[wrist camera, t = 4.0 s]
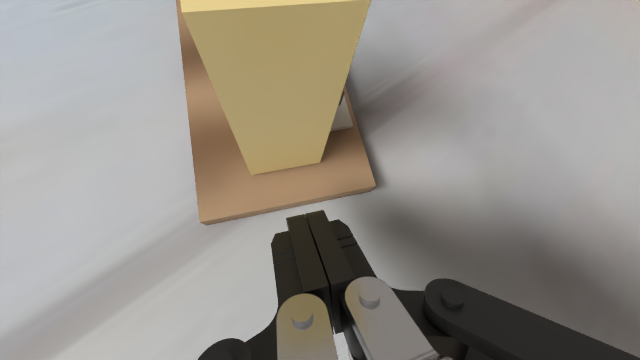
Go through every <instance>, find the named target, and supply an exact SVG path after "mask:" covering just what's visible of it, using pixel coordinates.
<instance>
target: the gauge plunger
mask: <svg viewBox="0 0 640 360" xmlns="http://www.w3.org/2000/svg"><path fill="white" fill-rule="evenodd" d="M180 2H181V11H182V14H183V17H184V19H185V21H186V24H187V26H188V28H189V31H190V33H191V36H192V38H193V40H194V43H195V45H196V47H197V50H198V52H199V54H200V57H201V59H202V61H203V64H204V66H205V68H206V71H207V73H208V75H209V78H210V80H211V82H212V85H213V87H214V89H215V92H216V94H217V97H218V99H219V101H220V104H221V106H222V108H223V111H224V113H225V115H226V118H227V120H228V122H229V125H230V127H231V129H232V132H233V134H234V136H235V139H236V141H237V143H238V146H239V148H240V151H241V153H242V155H243V158H244V160H245V162H246V165H247V167H248V169H249V172H250V174H251V175H255V174H260V173H266V172H271V171H277V170H282V169H288V168H293V167H299V166H304V165H310V164H316V163H320V161H321V158H322V155H323V152H324V148H325V145H326V142H327V139H328V136H329V133H330V129H331V126H332V123H333V120H334V117H335V114H336V110H337V107H338V106H339V105H341V102H342V99H343V96H344V91H343V88H344V85H345V82H346V79H347V76H348V72H349V69H350V66H351V63H352V60H353V57H354V53H355V50H356V47H357V44H358V41H359V38H360V34H361V31H362V28H363V25H364V22H365V19H366V15H367V12H368V9H369V6H370V3H371V0H180Z"/></svg>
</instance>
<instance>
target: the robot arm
mask: <svg viewBox="0 0 640 360" xmlns="http://www.w3.org/2000/svg"><path fill="white" fill-rule="evenodd" d="M286 220H287V226H288V231H286V232H281V233H277V234H275V236H274V238H273V241H272V243H271V248H272V255H273V264H274V272H275V280H276V288H277V296H278V309H277V313H276V315H275V317H274V319H273V320H272V322H271V323H270V324H269V326H268V327H266V328H265V329H264V330H263V331H262V332H260V333H259V334H257V335H256V336H254V337H253V338H251V339H249V340H248V341H246V342H243V341H241V340H239V339H235V338H229V339H224V340H221V341H218V342H217V343H215V344H213V345H212V346H210V347H209V348H208V349H207V350H206V351H204V352H203V354H202V355H201V356H200V357H199V358H198V360H338V356H337V352H336V347H335V343H334V338H333V335H334V333H333V327H334V330H335V334H337V333H341V332H343V333H344V336H345V339H346V341H347V344H348V355H349V359H350V360H640V358H638V357H636V356H634V355H631V354H629V353H627V352H624V351H622V350H619V349H617V348H615V347H612V346H610V345H608V344H605V343H603V342H600V341H598V340H596V339H593V338H591V337H589V336H586V335H584V334H581V333H579V332H577V331H574V330H572V329H570V328H567V327H565V326H562V325H560V324H558V323H555V322H553V321H551V320H548V319H546V318H543V317H541V316H539V315H536V314H534V313H531V312H529V311H527V310H524V309H522V308H520V307H517V306H515V305H512V304H510V303H508V302H505V301H503V300H501V299H498V298H496V297H493V296H491V295H489V294H486V293H484V292H482V291H479V290H477V289H474V288H472V287H470V286H467V285H465V284H463V283H460V282H458V281H455V280H451V279H445V278H444V279H436V280H433V281H431V282H430V283H429V284H428V285H427V286H426V288H425V291H406V290H398V289H394V288H391V287H389V285H387V284H386V283H385V282H384V281H382V280H380V279H378V278H377V277H376V275H375V274H374V272H373V270H372V268H371V266H370V265H369V263H368V261H367V259H366V257H365V256H364V254H363V252H362V250H361V249H360V247H359V245H358V244H357V241H356V240H355V238H354V237H353V234H352V233H351V231H350V229H349V227H348V226H347V225H346V224H344V223H343V222H341V221H340V220H339V219H338V220H334V221H330V222H329V221H328V219H327V217H326V214H325V212H324V211H323V210H321V211H316V212H311V213H307V214H305V215H304V214H303V215H298V216H293V217H289V218H286Z"/></svg>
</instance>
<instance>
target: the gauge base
mask: <svg viewBox="0 0 640 360" xmlns="http://www.w3.org/2000/svg"><path fill="white" fill-rule="evenodd" d="M176 6H177V15H178V24H179V33H180V43H181V52H182V61H183V71H184V80H185V89H186V99H187V108H188V117H189V126H190V136H191V145H192V154H193V164H194V173H195V182H196V191H197V201H198V210H199V219H200V222H201V223H203V224H205V225H210V224H215V223H220V222H225V221H230V220H234V219H239V218H244V217H249V216H254V215H258V214H263V213H268V212H273V211H278V210H282V209H287V208H292V207H297V206H301V205H306V204H311V203H316V202H321V201H325V200H330V199H335V198H340V197H345V196H349V195H354V194H359V193H364V192H369V191H371V190H372V189H373V188H374V187H375V186H376V184H375V181H374V178H373V174H372V171H371V168H370V164H369V161H368V158H367V155H366V151H365V148H364V145H363V142H362V138H361V135H360V132H359V129H358V125H357V122H356V119H355V116H354V112H353V109H352V106H351V102H350V99H349V96H348V93H347V89H346V86H345V85H344V88H343V91H344V96H343V99H342V102H341V105H339V106H338V107H337V110H336V114H335V117H334V120H333V123H332V126H331V129H330V133H329V136H328V139H327V142H326V145H325V148H324V152H323V155H322V158H321V161H320V163H316V164H310V165H304V166H299V167H293V168H288V169H282V170H277V171H271V172H266V173H260V174H255V175H251V174H250V172H249V169H248V167H247V165H246V162H245V160H244V158H243V155H242V153H241V151H240V148H239V146H238V143H237V141H236V139H235V136H234V134H233V132H232V129H231V127H230V125H229V122H228V120H227V118H226V115H225V113H224V111H223V108H222V106H221V104H220V101H219V99H218V97H217V94H216V92H215V89H214V87H213V85H212V82H211V80H210V78H209V75H208V73H207V71H206V68H205V66H204V64H203V61H202V59H201V57H200V54H199V52H198V50H197V47H196V45H195V43H194V40H193V38H192V36H191V33H190V31H189V28H188V26H187V24H186V21H185V19H184V17H183V14H182V11H181V2H180V0H176Z"/></svg>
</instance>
